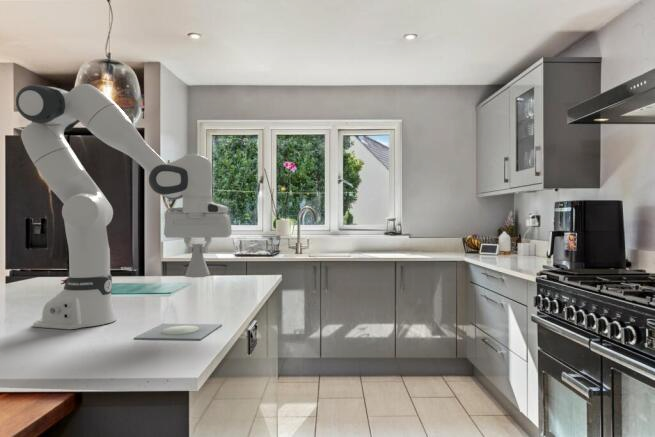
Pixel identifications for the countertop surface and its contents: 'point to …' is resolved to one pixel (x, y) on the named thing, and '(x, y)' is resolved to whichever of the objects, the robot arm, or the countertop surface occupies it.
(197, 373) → the countertop surface
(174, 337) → the card
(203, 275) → the flask
